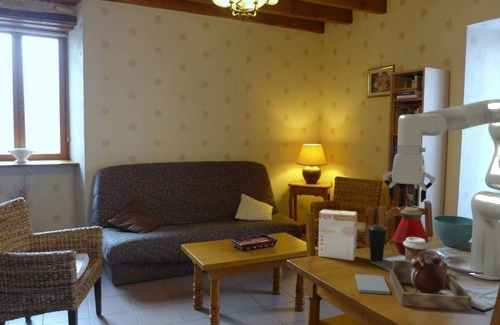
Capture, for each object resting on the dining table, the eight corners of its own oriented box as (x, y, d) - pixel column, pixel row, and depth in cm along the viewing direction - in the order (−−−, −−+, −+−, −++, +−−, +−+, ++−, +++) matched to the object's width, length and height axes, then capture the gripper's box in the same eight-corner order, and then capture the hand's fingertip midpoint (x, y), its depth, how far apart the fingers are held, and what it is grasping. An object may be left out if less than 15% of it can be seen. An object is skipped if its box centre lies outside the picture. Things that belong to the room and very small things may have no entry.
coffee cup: (397, 266, 159) (398, 236, 158) (417, 264, 160) (418, 235, 159) (411, 274, 150) (412, 243, 149) (432, 272, 152) (433, 242, 151)
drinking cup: (364, 257, 169) (365, 211, 168) (381, 256, 170) (383, 210, 168) (371, 263, 162) (372, 215, 160) (389, 262, 162) (390, 214, 161)
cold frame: (448, 284, 140) (449, 262, 139) (470, 310, 120) (472, 285, 120) (389, 281, 143) (390, 259, 142) (401, 305, 123) (402, 280, 123)
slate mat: (382, 278, 145) (382, 275, 145) (390, 294, 132) (390, 291, 132) (354, 276, 147) (354, 274, 147) (359, 292, 133) (359, 289, 133)
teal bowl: (483, 251, 178) (485, 224, 177) (443, 250, 178) (444, 224, 177) (462, 239, 196) (464, 215, 195) (426, 239, 196) (427, 215, 195)
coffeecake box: (356, 256, 171) (357, 211, 169) (353, 261, 164) (354, 215, 162) (322, 251, 177) (322, 208, 175) (317, 256, 170) (318, 211, 168)
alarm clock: (439, 291, 134) (441, 248, 133) (446, 297, 130) (448, 252, 128) (407, 291, 134) (409, 248, 133) (413, 297, 129) (415, 253, 128)
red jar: (412, 246, 184) (414, 204, 183) (435, 255, 172) (437, 210, 170) (384, 250, 179) (386, 206, 177) (406, 259, 166) (408, 212, 164)
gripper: (437, 151, 134) (435, 200, 136) (385, 149, 143) (383, 196, 145) (435, 152, 128) (433, 204, 129) (380, 150, 137) (379, 199, 138)
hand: (407, 200), depth 137 cm, fingers open, 9 cm apart
